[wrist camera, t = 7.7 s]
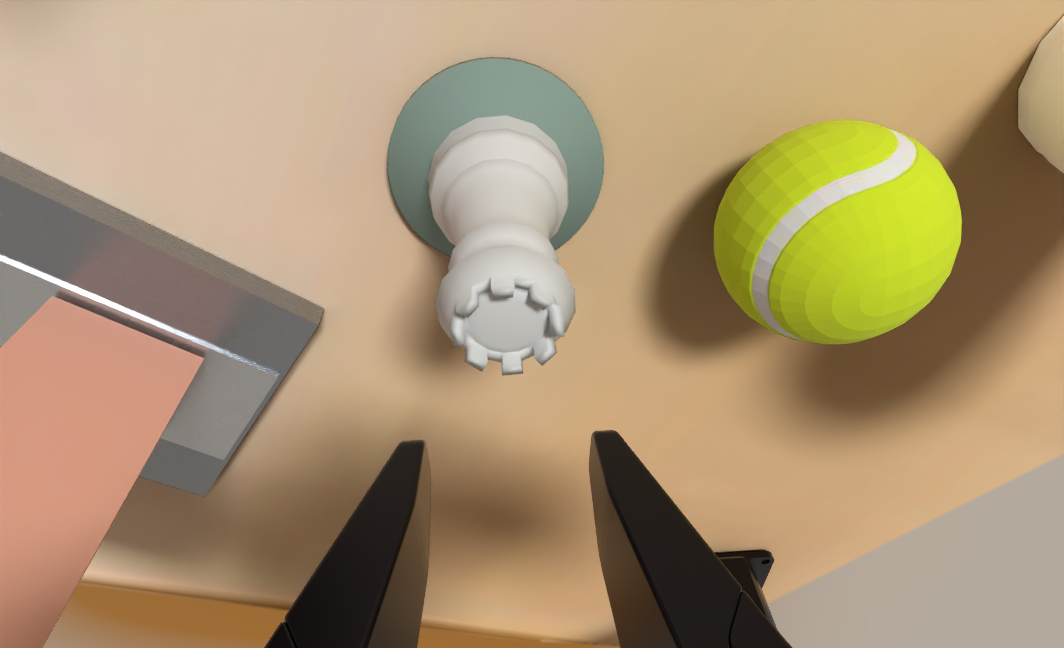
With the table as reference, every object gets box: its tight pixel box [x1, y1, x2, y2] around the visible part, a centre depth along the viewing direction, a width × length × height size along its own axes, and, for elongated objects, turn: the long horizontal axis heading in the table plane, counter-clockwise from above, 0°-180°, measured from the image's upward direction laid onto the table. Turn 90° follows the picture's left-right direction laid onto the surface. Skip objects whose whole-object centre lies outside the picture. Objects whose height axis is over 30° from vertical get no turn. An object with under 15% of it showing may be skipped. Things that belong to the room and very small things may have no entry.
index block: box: [0, 296, 204, 648], centre depth 18 cm, size 5×5×12 cm
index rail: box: [0, 152, 324, 497], centre depth 20 cm, size 16×12×5 cm
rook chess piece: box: [428, 115, 575, 375], centre depth 16 cm, size 4×4×8 cm
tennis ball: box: [714, 120, 962, 344], centre depth 18 cm, size 7×7×7 cm
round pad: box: [387, 57, 604, 257], centre depth 20 cm, size 7×7×1 cm
